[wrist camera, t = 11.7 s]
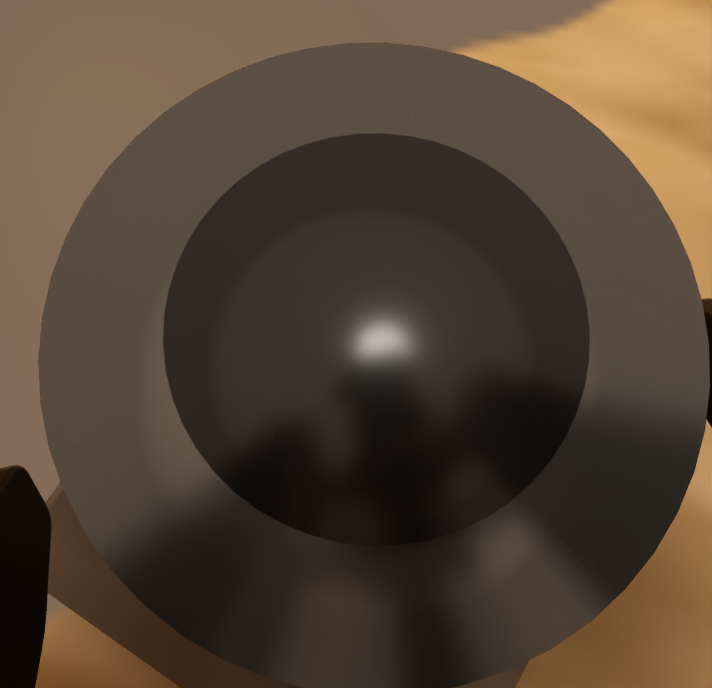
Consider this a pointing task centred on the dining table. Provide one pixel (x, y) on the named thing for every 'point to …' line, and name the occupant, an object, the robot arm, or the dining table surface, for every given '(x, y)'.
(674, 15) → the dining table surface
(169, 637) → the grey square tray
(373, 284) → the grey cylindrical can
